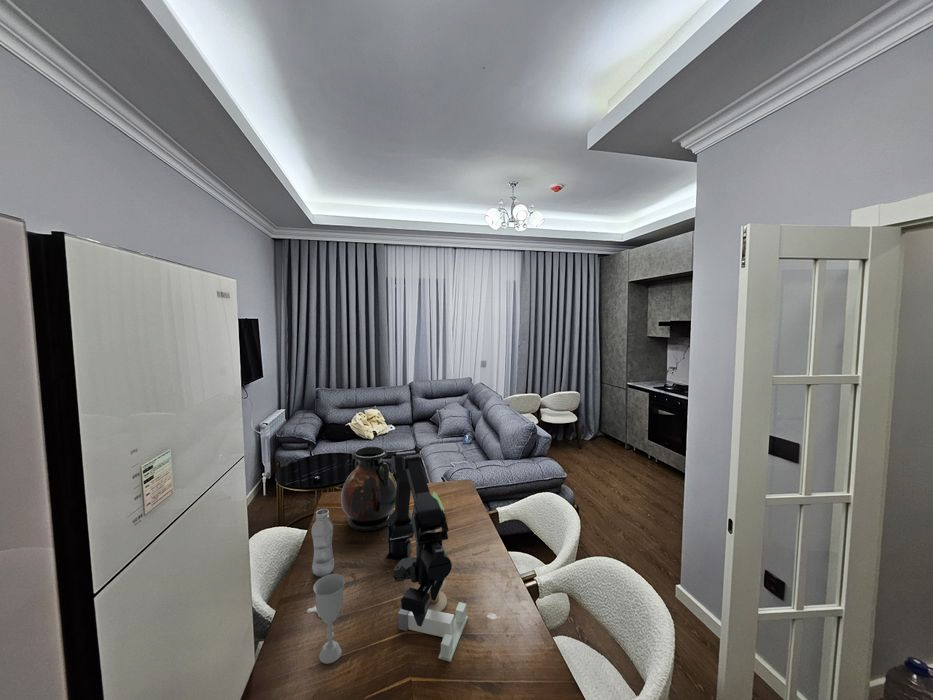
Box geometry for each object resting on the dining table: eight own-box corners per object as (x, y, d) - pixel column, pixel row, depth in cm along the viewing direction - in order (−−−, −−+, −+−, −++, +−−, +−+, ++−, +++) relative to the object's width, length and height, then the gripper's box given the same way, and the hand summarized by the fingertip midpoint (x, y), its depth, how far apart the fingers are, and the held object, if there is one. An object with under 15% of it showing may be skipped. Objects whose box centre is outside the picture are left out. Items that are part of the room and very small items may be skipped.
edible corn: (432, 513, 151) (443, 509, 152) (427, 491, 171) (437, 488, 171) (436, 526, 152) (447, 521, 153) (431, 502, 171) (441, 498, 172)
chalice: (327, 673, 89) (326, 599, 87) (308, 658, 93) (306, 587, 91) (352, 649, 95) (351, 580, 93) (333, 636, 99) (332, 570, 97)
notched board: (438, 658, 93) (438, 643, 93) (457, 615, 107) (457, 601, 106) (450, 662, 93) (450, 646, 92) (467, 617, 106) (468, 604, 105)
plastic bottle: (339, 568, 125) (338, 508, 123) (324, 582, 118) (323, 519, 116) (322, 563, 127) (321, 504, 125) (307, 577, 120) (306, 515, 118)
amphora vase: (409, 517, 156) (409, 449, 153) (369, 544, 138) (368, 467, 135) (370, 502, 168) (370, 438, 165) (328, 525, 149) (327, 453, 147)
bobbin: (413, 609, 108) (413, 586, 108) (425, 590, 116) (425, 568, 115) (440, 617, 106) (441, 592, 105) (450, 596, 114) (451, 573, 113)
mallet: (455, 627, 102) (454, 611, 101) (449, 640, 98) (449, 624, 97) (406, 616, 106) (405, 601, 106) (398, 629, 102) (397, 613, 101)
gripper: (413, 529, 111) (413, 581, 112) (380, 571, 93) (380, 632, 94) (451, 537, 107) (450, 590, 109) (424, 581, 90) (423, 644, 91)
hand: (426, 612), depth 101 cm, fingers open, 9 cm apart
